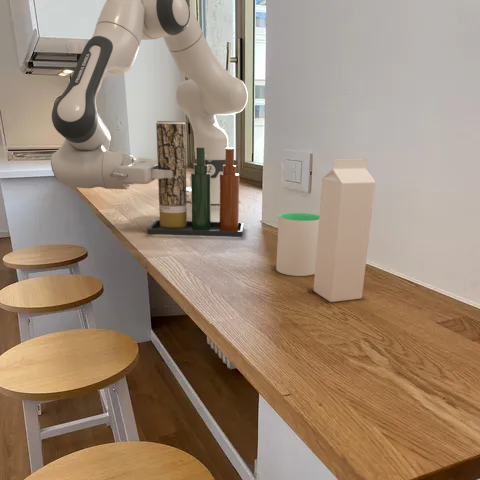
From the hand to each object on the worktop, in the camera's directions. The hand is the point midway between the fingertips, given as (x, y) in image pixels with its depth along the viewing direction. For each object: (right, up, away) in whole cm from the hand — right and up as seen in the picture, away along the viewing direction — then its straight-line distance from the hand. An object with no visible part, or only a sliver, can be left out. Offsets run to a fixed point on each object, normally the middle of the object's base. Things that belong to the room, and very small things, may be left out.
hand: (175, 172), depth 121 cm
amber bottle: (+13, -13, +5) cm, 19 cm away
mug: (+29, -26, -23) cm, 45 cm away
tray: (+5, -14, +6) cm, 16 cm away
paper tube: (-1, -13, +5) cm, 14 cm away
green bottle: (+6, -13, +5) cm, 15 cm away
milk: (+32, -32, -37) cm, 58 cm away
